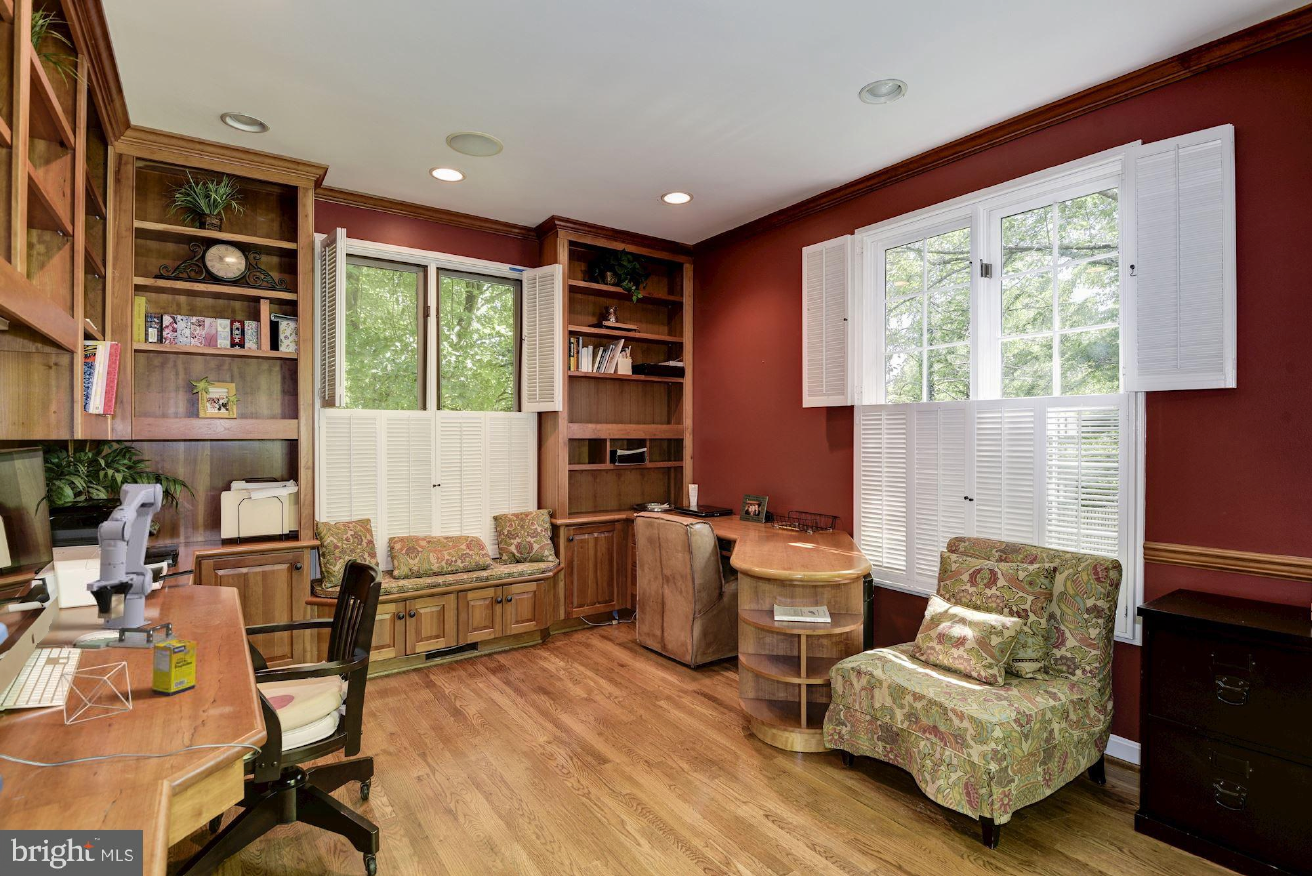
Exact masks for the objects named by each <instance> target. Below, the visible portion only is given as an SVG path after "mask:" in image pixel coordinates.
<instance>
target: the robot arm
mask: <svg viewBox="0 0 1312 876" xmlns="http://www.w3.org/2000/svg"><path fill="white" fill-rule="evenodd" d="M163 494H164V493H163V486H162V485H161V484H160V483H124V484H123V485H122V486H121V488H120V493H119V498H120V501H121V505H119V506H117V507H116V508H114V510H113V511H112V512H111V514H110V515H109V517H108V519H107V521H103V523H102V522H101V523H100V524H99V525H98V528H97V540H98V548H99V549H100V556H99V557H100V560H99V579H97V580H94V581H92V582H88V583H86V591H87V592H89V593H90V594H91V595H92V596H93V598H94V601H95V602H96V606H97V609H98V608H99V612H100V613H103V614H107V613H109V610H110V603H111V598H112V595H113V594H124V608H123V616H119V617H116V618H112V619H103V626H101V629H109V628H110V629H111V630H113V629H115V630H116V629H117V630H120V629H121V628H122V627H125V628H141V627H143V626H145V625H149V624H151V623H152V621H149V620H145V610H146V609H145V605H146V596H148V595H149V594H150V593H151V592H152V588H153V582H154V581H153V576H154V575H153V571H152V569H151V568H149V567H148V566H146V565H145V564H144V563H145V559H146V558H145V557H146V553H147V552H146V551H147V546H148V540H149V534H150V533H149V532H150V530H151V529H150V528H151V523H152V519H153V516H154V514H156V513H159V512H160V511H161V510H160V509H161V506H162V500H163ZM127 542H128V543H127Z"/></svg>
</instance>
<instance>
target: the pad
mask: <svg viewBox="0 0 1312 876" xmlns="http://www.w3.org/2000/svg"><path fill="white" fill-rule="evenodd" d="M119 630H120V629H117V630H115V631H114V632H117V633H119ZM135 633H137V632H125V637H126V636H129V635H132V634H135ZM117 639H119V637H114V638H104V639H97V640H90V639H89V640H90V641H87V640H84V641H80V642H77V643H75V648H76V649H77V648H79V649H97V650H98V649H100V650H101V649H104V648H107V647H109V642H111V641H114V640H117Z"/></svg>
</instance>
